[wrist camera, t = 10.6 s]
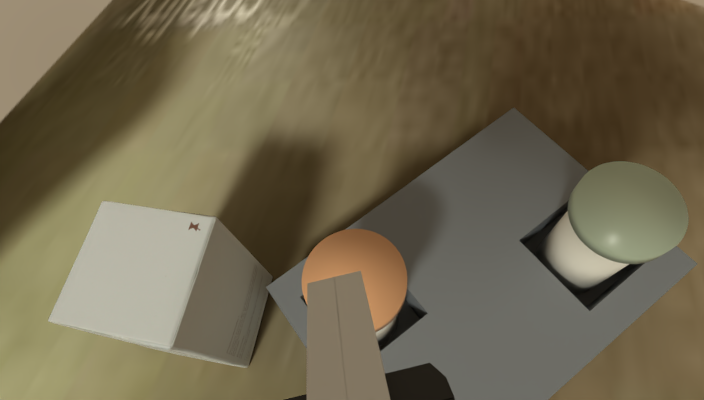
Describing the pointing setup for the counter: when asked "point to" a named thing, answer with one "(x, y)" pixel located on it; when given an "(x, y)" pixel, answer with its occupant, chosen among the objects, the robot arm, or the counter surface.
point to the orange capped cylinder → (363, 272)
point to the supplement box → (166, 284)
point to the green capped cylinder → (613, 225)
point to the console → (495, 271)
